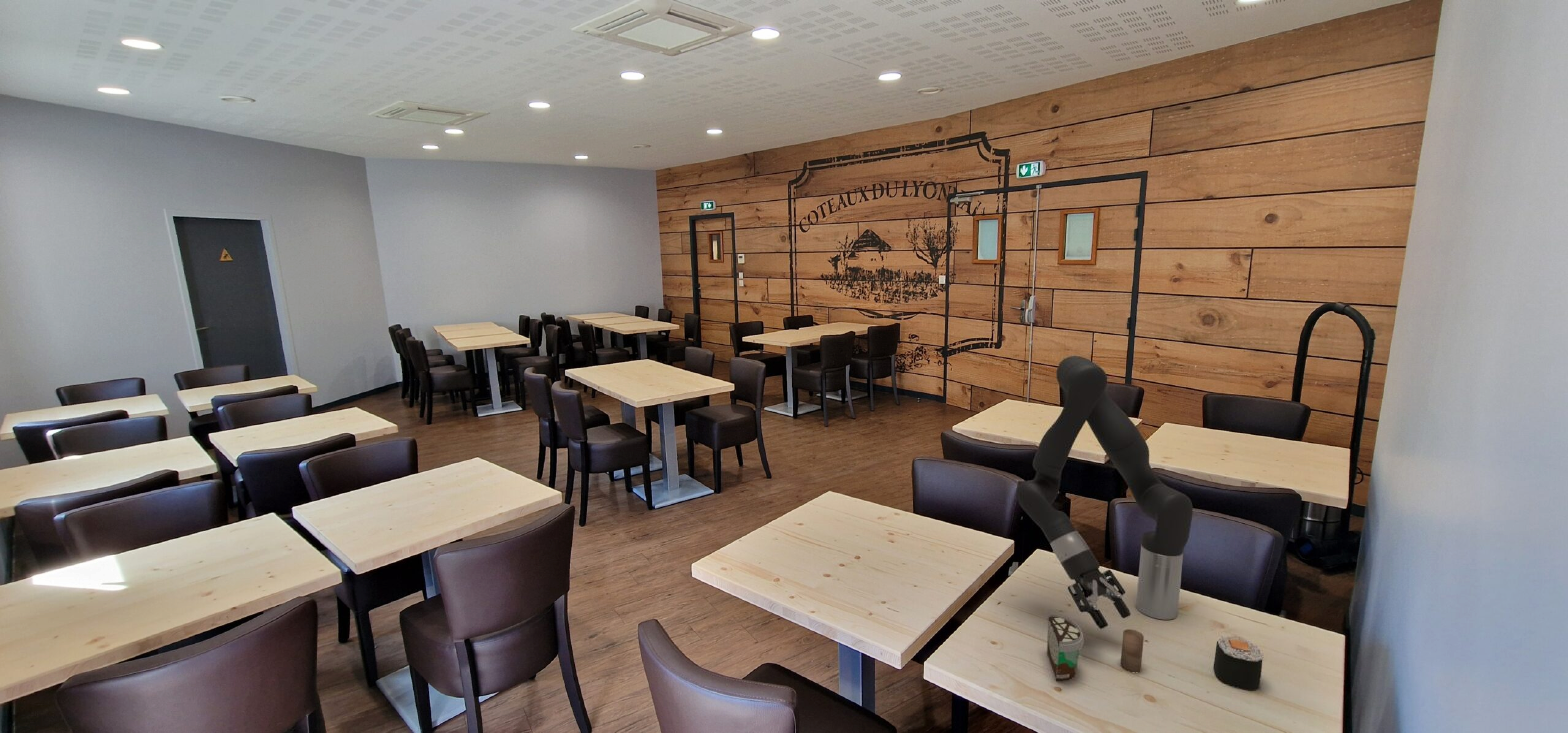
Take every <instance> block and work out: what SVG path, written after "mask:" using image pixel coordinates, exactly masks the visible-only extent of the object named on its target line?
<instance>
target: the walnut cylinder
mask: <svg viewBox="0 0 1568 733" xmlns="http://www.w3.org/2000/svg"><path fill="white" fill-rule="evenodd" d="M1144 636H1145V635H1144V634H1143V633H1142V632H1140V631H1138V630H1135V629H1131V628H1129V629H1124V630H1123V632H1122V640H1121V642H1122V643H1121V653H1120V664H1121V665H1120V667H1121V668H1122V669H1123V670H1124V669H1125V671H1127V672H1128V671H1129V673H1132V672H1135V673H1134V674H1137V673H1136V672H1138V673H1140V672H1141V671H1142V670H1141V669H1142V662H1143V651H1144V639H1145V637H1144Z"/></svg>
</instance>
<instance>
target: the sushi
mask: <svg viewBox="0 0 1568 733" xmlns="http://www.w3.org/2000/svg"><path fill="white" fill-rule="evenodd" d="M1264 657H1265V656H1264V653H1262V652H1261V648H1258V645H1256V644H1255V645H1254V644H1253V642H1252V641H1251V642H1250V640H1248V639H1245V638H1242V637H1238V638H1237V637H1236V636H1235V637H1232V636H1229V635H1228V636H1221V637H1220V639H1218V641H1217V640H1216V646H1215V653H1214V660H1213V672H1214V676H1215V678H1216V679H1217V680H1218V681H1220V682H1221V683H1222V684H1225V685H1226V686H1229V687H1233V688H1236V689H1241V690H1246V691H1256V690H1257V691H1258V689H1259V687H1260V682H1261V677H1262V670H1263V660H1264Z"/></svg>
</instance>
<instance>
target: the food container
mask: <svg viewBox="0 0 1568 733" xmlns="http://www.w3.org/2000/svg"><path fill="white" fill-rule="evenodd" d="M1046 642H1047V645H1046V655H1047V656H1046V657H1047V659H1048V662H1049V665H1050V668H1052V669H1051V671H1053V672H1052V674H1053V677H1054V680H1055V682H1068V681H1070V680H1073V679H1072V678H1075V676H1076V673H1077V666H1078V659H1079V654H1080V649H1081V648H1082V647H1083V646H1084V644H1085V643H1084V642H1085V638H1084V633H1083V631H1082V630H1081V627H1080V626H1079V625H1078V624H1077V623H1076V622H1075V621H1073V620H1072V619H1070V618H1068V617H1066V616H1063V615H1060V614H1057V613H1051V612H1048V614H1047V641H1046Z"/></svg>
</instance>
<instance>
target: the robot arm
mask: <svg viewBox="0 0 1568 733" xmlns="http://www.w3.org/2000/svg"><path fill="white" fill-rule="evenodd" d="M1056 380H1057V383H1058V385H1059V386H1060V388H1061V389H1062V390H1063V391H1064V392H1065V393H1066V398H1065V402H1064V405H1063V408H1062V409H1061V412H1060V414H1059V415H1058V417H1057V419H1056V420H1055V421H1054V422H1053V424H1052V425H1051V426H1050V427H1049V428H1048V429H1047V431H1045V433H1044V435H1043V436H1042V438H1041V440H1040V442H1039V445H1038V447H1037V450H1036V452H1035V455H1034V457H1033V460H1032V467H1033V469H1034V471H1035V476H1034V478H1033V479H1031V480H1024V481H1023V482H1021V483H1020V484H1018V486H1017V487H1016V492H1015V493H1016V499H1017V501H1018V504H1019V506H1020V507H1021V508H1022V510H1023V511H1024V512H1025V513H1026V514H1027V516H1029V517H1030V519H1031V520H1032V521H1033V522H1034V523H1035V524H1036V525H1037V526H1038V527H1039V528H1040V529H1041V531H1042V532H1043V533H1042V534H1044V536H1045V538H1046V539H1047V542H1048V543H1049V544H1050V546H1051V548H1052V550H1053V554H1055V556H1056V558H1057V559H1058V562H1059V563H1060V564H1061V566H1062V569H1063V570H1064V571H1065V573H1066V574H1067V577H1068V578H1069V579H1070V580H1071V581H1072V580H1073V581H1075V583H1073V584H1071V585H1069V586H1067V591H1068V592H1069V594H1070V596H1071V598H1072V599H1073V602H1074V603H1075V605H1076V607H1077V609H1078V610H1079V612H1081V613H1088V614H1089V615H1090V616H1091V618H1092V619H1093V620H1092V621H1093V622H1094V623H1095V625H1096V626H1097V627H1098V628H1099V629H1100V630H1101V629H1104V628H1106V627H1108V626H1109V623H1108V622H1107V620H1106V619H1105V617H1104V615H1103V613H1102V612H1101V610H1100V609H1098V608H1099V607H1098V602H1097V601H1098V600H1099V597H1100V596H1102V597H1103V598H1104V597H1105V598H1107V599H1108V600H1110V601H1111V602H1112V604H1113V605H1114V607H1115V609H1116V610H1117V612H1118V613H1119V616H1120V617H1121V618H1122V619H1126V618H1128V617H1130V616H1131V614H1132V613H1131V611H1130V609H1129V608H1128V606H1127V604H1126V603H1125V601H1124V600H1123V595H1124V594H1126V590H1125V589H1124V588H1123V585H1121V583H1120V582H1119V580H1118V578H1116V576H1115V574H1114V573H1113V572H1112V570H1110V569H1107V570H1105V571H1103V572H1101V571H1100V569H1099V568H1100V565H1101V564H1100V563H1099V561H1098V560H1097V558H1096V556H1095V555H1094V554H1093V552H1092V550H1091V549H1090V547H1089V546H1088V544H1087V542H1086V540H1084V538H1083V537H1082V535H1080V533H1079V531H1077V529H1076V527H1075V526H1074V524H1073V523H1072V521H1071V519H1070V518H1069V516H1068V515H1067V514H1066V513H1065V512H1064V511H1062V510H1061V511H1060V510H1057V509H1056V508H1054V507H1053V505H1052V504H1053V503H1054V502H1055V501H1056V499H1057V497H1058V494H1059V490H1060V485H1061V481H1062V480H1061V479H1062V471H1063V469H1064V467H1065V465H1066V462H1067V460H1068V458H1069V454H1070V453H1071V450H1072V448H1073V446H1074V443H1075V442H1076V439H1077V437H1078V435H1079V434H1080V432H1081V431H1082V428H1083V427H1084V425H1085V423H1086V422H1087V424H1088V426H1089V427H1090V430H1091V432H1092V433H1093V435H1094V436H1095V438H1096V439H1097V441H1098V444H1099V445H1100V447H1101V448H1102V450H1103V451H1104V453H1105V454H1106V456H1107V457H1108V459H1109V460H1110V461H1111V463H1112V465H1113V466H1114V467H1115V468H1116V470H1117V471H1118V473H1119V474H1120V476H1121V478H1123V480H1124V481H1125V483H1126V484H1127V486H1128V488H1129V490H1130V492H1131V494H1132V496H1133V498H1134V500H1135V503H1136V504H1137V506H1138V508H1139V510H1140V511H1141V512H1142V513H1143V514H1144V515H1145V516H1147V517H1148V518H1150V519H1151V520H1153V521H1154V522H1156V524H1155V530H1149V531H1146V532H1144V533H1143V534H1142V537H1141V543H1140V544H1141V546H1140V555H1139V557H1140V558H1139V568H1138V578H1137V590H1136V599H1135V600H1136V602H1135V607H1136V608H1137V610H1138V611H1139V612H1140V613H1142V614H1144V615H1145V616H1148V617H1150V618H1153V619H1156V620H1157V619H1158V620H1165V621H1166V620H1167V621H1168V620H1174V619H1176V618H1177V616H1178V611H1179V603H1180V602H1179V601H1180V593H1181V584H1182V571H1183V570H1182V569H1183V558H1184V550H1185V547H1186V545H1187V544H1188V541H1189V538H1190V533H1191V532H1190V531H1191V527H1192V520H1193V513H1194V512H1193V510H1194V508H1193V504H1192V500H1191V499H1190V498H1189V496H1187V495H1186V494H1185V493H1182V492H1181V491H1178V490H1176V489H1174V488H1172V487H1169V486H1167V485H1166V484H1164V483H1163V482H1162V481H1161V479H1159V477H1158V476H1157V474H1156V473H1155V471H1154V470H1153V469H1152V467H1151V465H1150V449H1149V445H1148V444H1147V441H1146V439H1145V438H1144V437H1143V435H1142V433H1141V432H1140V431H1139V429H1138V427H1137V426H1136V424H1135V423H1134V422H1133V421H1132V419H1131V418H1130V417H1129V416H1128V415H1127V414H1126V413H1125V412H1124V411H1123V410H1122V409H1121V408H1120V407H1119V405H1118V404H1117V403H1115V402H1114V400H1113V399H1112V398H1111V397H1110V396H1109V395H1108V393H1107V391H1106V388H1107V385H1108V376H1107V374H1106V372H1105V370H1104V369H1103V368H1102V367H1101V366H1099V365H1098V364H1096V363H1095V362H1093V361H1092V360H1090V359H1088V358H1086V357H1083V356H1080V355H1072V356H1067V357H1065V358H1064V359H1062V360H1061V361H1060V362H1059V363H1058V366H1057V368H1056ZM1116 588H1117V589H1116Z"/></svg>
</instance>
